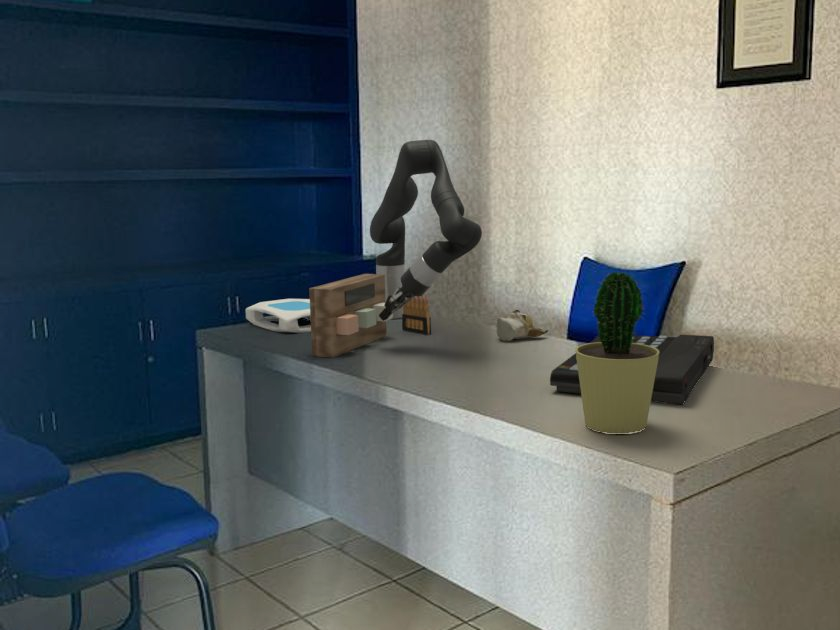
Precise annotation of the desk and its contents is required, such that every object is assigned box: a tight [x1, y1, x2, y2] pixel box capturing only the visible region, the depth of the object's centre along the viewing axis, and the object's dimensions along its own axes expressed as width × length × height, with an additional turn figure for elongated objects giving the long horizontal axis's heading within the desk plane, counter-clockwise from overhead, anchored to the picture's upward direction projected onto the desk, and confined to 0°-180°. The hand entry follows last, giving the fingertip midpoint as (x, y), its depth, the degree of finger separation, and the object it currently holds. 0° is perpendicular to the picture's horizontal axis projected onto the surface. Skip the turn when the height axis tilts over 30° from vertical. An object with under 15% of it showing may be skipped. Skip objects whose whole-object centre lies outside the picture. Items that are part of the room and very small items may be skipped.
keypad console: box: [308, 273, 387, 358], centre depth 238 cm, size 7×30×18 cm, turn 155°
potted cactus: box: [574, 271, 659, 433], centre depth 161 cm, size 15×15×30 cm
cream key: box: [372, 302, 393, 322], centre depth 245 cm, size 6×5×4 cm
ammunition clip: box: [401, 293, 432, 336], centre depth 255 cm, size 11×2×12 cm, turn 45°
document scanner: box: [245, 298, 311, 334], centre depth 272 cm, size 21×28×6 cm
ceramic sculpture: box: [496, 309, 549, 342], centre depth 243 cm, size 11×9×15 cm
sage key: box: [355, 308, 376, 328], centre depth 236 cm, size 6×5×4 cm
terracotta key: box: [336, 314, 359, 335], centre depth 228 cm, size 6×5×4 cm
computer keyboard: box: [549, 334, 715, 405], centre depth 200 cm, size 45×28×7 cm, turn 154°
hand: (382, 317), depth 234 cm, fingers closed
